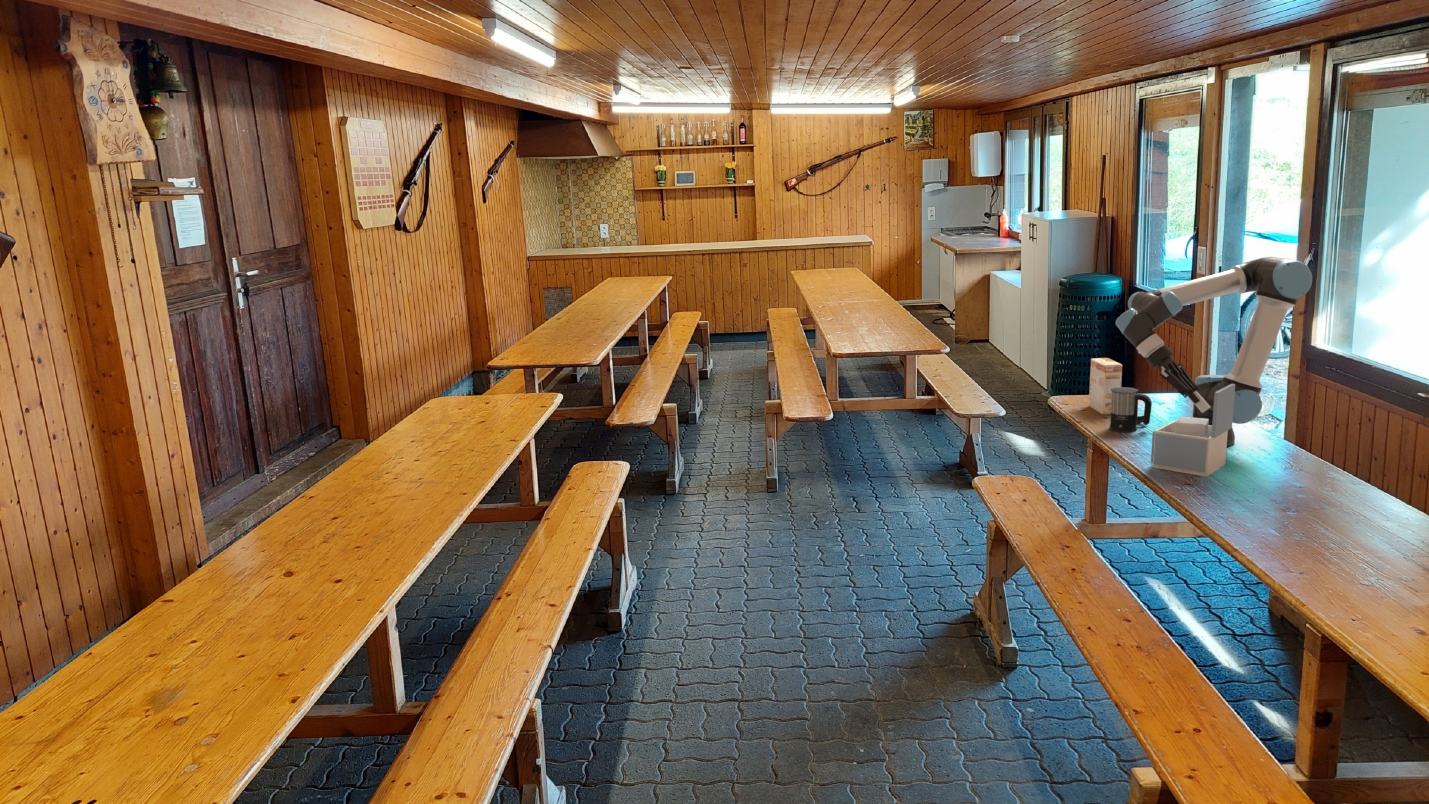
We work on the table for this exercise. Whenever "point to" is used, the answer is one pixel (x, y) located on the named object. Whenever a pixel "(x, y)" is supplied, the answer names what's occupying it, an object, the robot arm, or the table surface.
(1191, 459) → the carton
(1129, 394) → the milk frother
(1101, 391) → the coffeecake box
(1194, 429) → the supplement box
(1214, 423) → the flap
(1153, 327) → the robot arm
